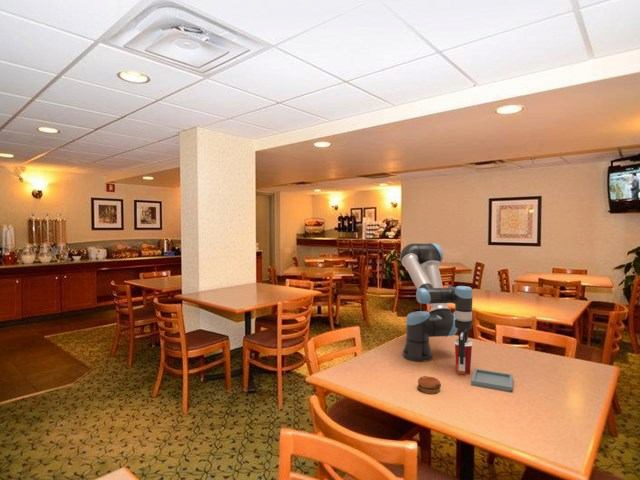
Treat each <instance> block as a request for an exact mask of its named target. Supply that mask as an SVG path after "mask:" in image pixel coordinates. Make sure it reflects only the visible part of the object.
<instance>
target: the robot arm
mask: <svg viewBox="0 0 640 480" xmlns="http://www.w3.org/2000/svg"><path fill="white" fill-rule="evenodd" d="M443 256H444V254H443V249H442V247H441V246H440V245H439V244H437V243H432V242H427V243H416V242H415V243H408V244H407V245H405V246H404V247H403V248H402V250H401V251H400V255H399V260H400V263H401V265H402V266H403V267H404V268H405V269H406V270H407V272H408V274H409V277H410V278H411V281H412V283H413V284H414V286H415V288H416V293H415V298H416V301H417V302H418V303H419V304H425V305H430V310H429V312H428V311H425V310H420V311H419V310H418V311H412V312H409V313H408V314H407V316H406V322H405V323H406V325H405V327H406V333H405V337H406V339H405V343H404V348H403V349H402V356H403V358H404V359H406V360H410V361H413V362H428V361H431V360H433V351H432V348H431V345H430V338H433V337H435V338H439V337H441V338H442V337H445V338H447V337H452V336H453V337H454V336H455V335H456V334H457V332H458V334H457V335H458V339H459V351H458V355H457V357H459V371H465V343H466V342H467V339H468V336H469V330H471V329H472V328H473V321H472V320H473V296H474V295H473V289H472V287H470V286H465V285H457V286H446V287H444V285H443V281H442V277H441V272H440V268H439V267H440V266H441V263H442V262H443ZM448 304H454V311H453V313H452V309H451V308H450V307H449V306H448ZM458 330H459V331H458ZM468 340H469V339H468Z"/></svg>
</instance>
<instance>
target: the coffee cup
mask: <svg viewBox="0 0 640 480" xmlns="http://www.w3.org/2000/svg"><path fill="white" fill-rule="evenodd" d="M453 344H454V353H455V357H454V358H455V371H456V373H458V374H460V375H470V373H471V363H472V349H473V342H472V341H471V340H470V339H467V342H466V343H465V371H459V357H457V355H458V351H459V338H455V340H454V342H453Z"/></svg>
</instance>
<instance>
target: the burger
mask: <svg viewBox="0 0 640 480" xmlns="http://www.w3.org/2000/svg"><path fill="white" fill-rule="evenodd" d="M441 387H442V384H441V382H440V380H439V379H438V378H436V377H434V376H427V375H423V376H420V377H419V378H418V379H417V389H418V390H420V391H421V392H423V393H425V394H428V395H429V394H432V395H434V394H438V393H440V391H441V390H440V389H441Z"/></svg>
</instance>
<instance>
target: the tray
mask: <svg viewBox="0 0 640 480" xmlns="http://www.w3.org/2000/svg"><path fill="white" fill-rule="evenodd" d="M513 376H514V375H513V373H506V372H500V371H492V370H487V369H480V368H474V370H473V372H472V376H471V380H470V385H471V386H475V387H479V388H480V387H481V388H486V389H492V390H497V391H503V392H508V393H513V384H514V383H513V382H514V381H513V379H514V377H513Z"/></svg>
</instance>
